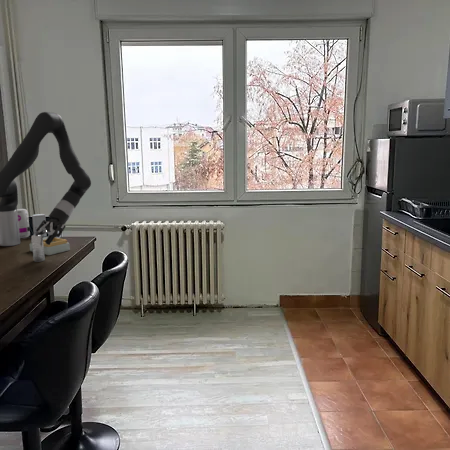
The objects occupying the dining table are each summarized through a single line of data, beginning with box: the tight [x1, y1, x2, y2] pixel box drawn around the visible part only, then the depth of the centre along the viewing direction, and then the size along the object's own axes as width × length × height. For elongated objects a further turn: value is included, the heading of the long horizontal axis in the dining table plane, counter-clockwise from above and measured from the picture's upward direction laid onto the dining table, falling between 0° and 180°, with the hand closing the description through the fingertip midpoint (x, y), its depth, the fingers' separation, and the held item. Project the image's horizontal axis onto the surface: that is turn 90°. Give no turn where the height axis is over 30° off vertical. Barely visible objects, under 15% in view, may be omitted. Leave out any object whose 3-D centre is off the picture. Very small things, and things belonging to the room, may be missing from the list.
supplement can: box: [17, 208, 31, 239], centre depth 227 cm, size 8×8×15 cm
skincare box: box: [31, 213, 48, 238], centre depth 228 cm, size 6×4×12 cm
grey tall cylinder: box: [30, 232, 46, 263], centre depth 180 cm, size 4×4×12 cm
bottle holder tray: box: [28, 236, 71, 256], centre depth 198 cm, size 15×11×5 cm
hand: (41, 242), depth 181 cm, fingers open, 8 cm apart
